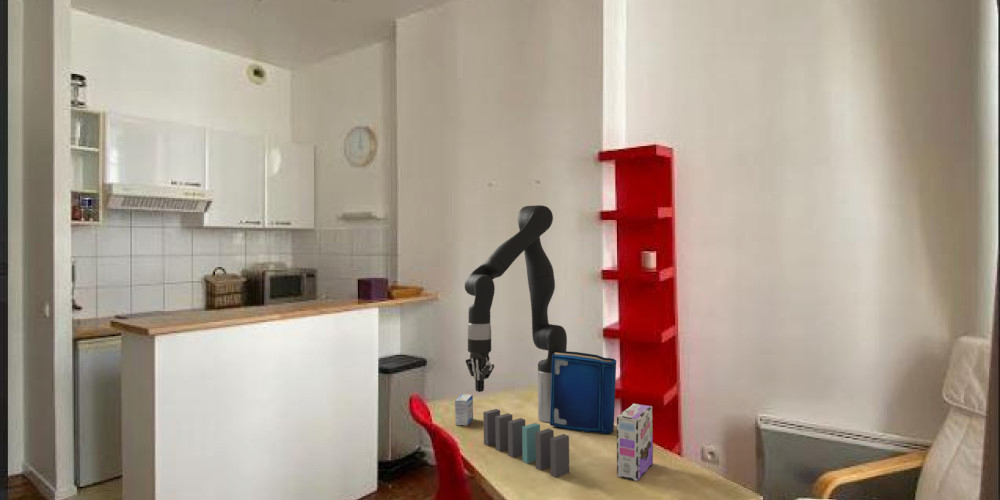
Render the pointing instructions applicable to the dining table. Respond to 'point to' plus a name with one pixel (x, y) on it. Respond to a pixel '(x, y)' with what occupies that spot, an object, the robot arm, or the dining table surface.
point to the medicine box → (464, 410)
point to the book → (582, 392)
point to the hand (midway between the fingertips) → (479, 391)
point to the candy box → (634, 441)
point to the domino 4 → (529, 442)
